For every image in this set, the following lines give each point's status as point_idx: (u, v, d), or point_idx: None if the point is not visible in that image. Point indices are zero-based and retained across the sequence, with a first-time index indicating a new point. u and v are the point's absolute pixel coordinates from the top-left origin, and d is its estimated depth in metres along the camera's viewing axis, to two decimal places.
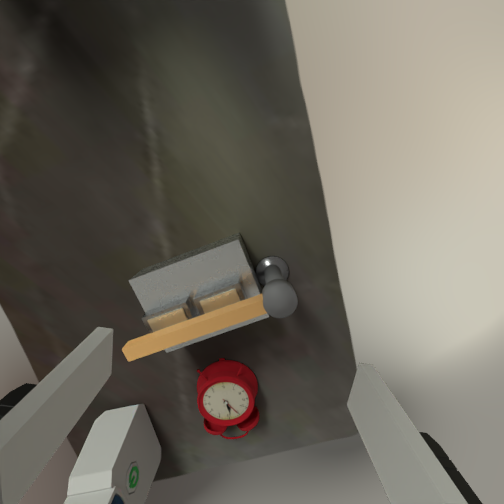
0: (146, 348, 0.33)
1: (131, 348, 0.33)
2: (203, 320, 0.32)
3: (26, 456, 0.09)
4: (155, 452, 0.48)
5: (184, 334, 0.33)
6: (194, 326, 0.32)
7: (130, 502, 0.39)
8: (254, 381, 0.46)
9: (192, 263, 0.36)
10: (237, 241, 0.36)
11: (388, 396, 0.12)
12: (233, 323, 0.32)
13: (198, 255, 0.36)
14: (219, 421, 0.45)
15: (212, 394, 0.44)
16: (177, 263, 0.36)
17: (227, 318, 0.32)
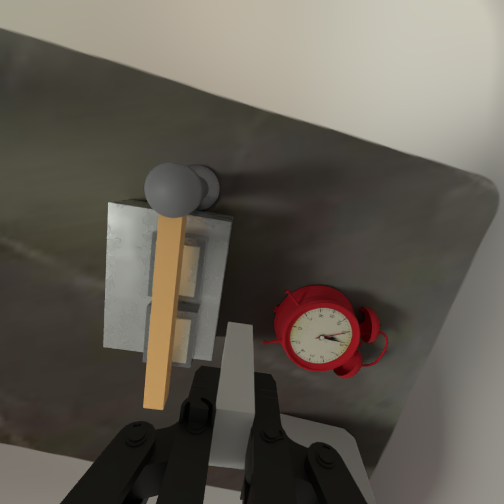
0: (156, 382, 0.25)
1: (147, 397, 0.25)
2: (152, 301, 0.23)
3: None
4: (339, 438, 0.38)
5: (158, 333, 0.23)
6: (154, 316, 0.23)
7: None
8: (324, 290, 0.33)
9: (114, 271, 0.28)
10: (110, 204, 0.26)
11: (247, 346, 0.14)
12: (174, 268, 0.22)
13: (108, 259, 0.28)
14: (342, 358, 0.33)
15: (302, 345, 0.32)
16: (107, 287, 0.28)
17: (163, 272, 0.22)
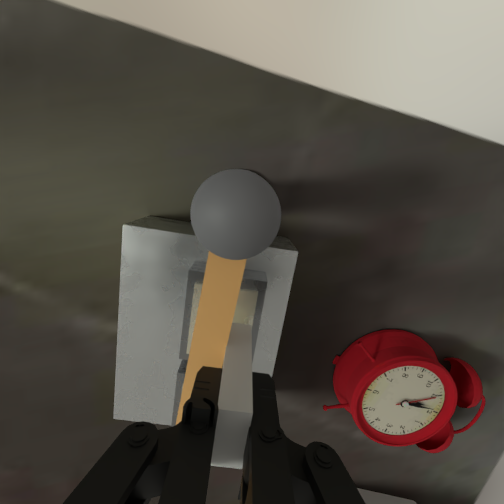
0: None
1: None
2: (184, 382, 0.15)
3: None
4: None
5: None
6: None
7: None
8: (403, 337, 0.25)
9: (130, 319, 0.20)
10: (126, 227, 0.18)
11: (245, 346, 0.14)
12: (225, 336, 0.14)
13: (121, 303, 0.20)
14: (430, 428, 0.25)
15: (377, 413, 0.24)
16: (119, 340, 0.20)
17: (206, 340, 0.14)
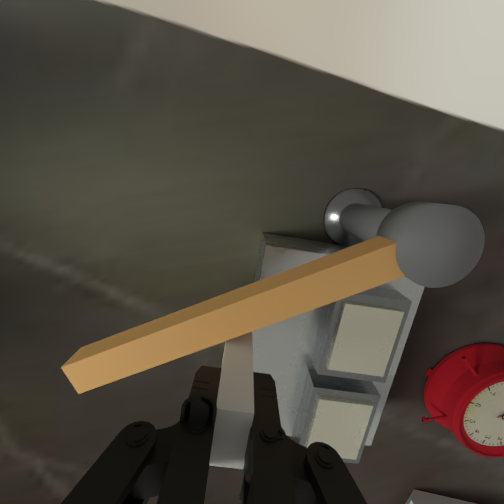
0: (119, 364, 0.14)
1: (82, 364, 0.14)
2: (249, 296, 0.14)
3: None
4: None
5: (203, 329, 0.14)
6: (228, 311, 0.14)
7: None
8: (499, 351, 0.26)
9: (261, 334, 0.21)
10: (268, 248, 0.19)
11: (246, 346, 0.14)
12: (320, 303, 0.14)
13: None
14: None
15: (476, 425, 0.25)
16: None
17: (307, 291, 0.13)
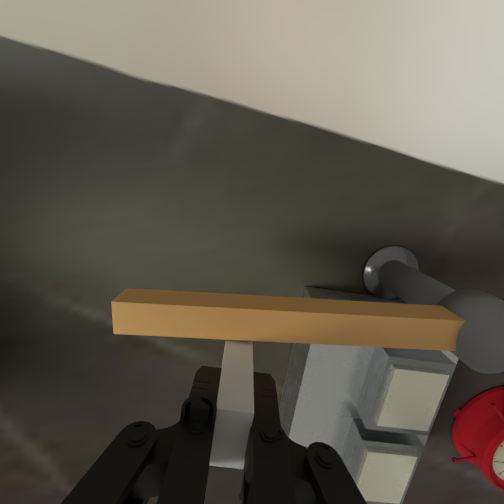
0: (169, 322, 0.14)
1: (134, 307, 0.14)
2: (322, 312, 0.14)
3: None
4: None
5: (266, 324, 0.14)
6: (298, 317, 0.14)
7: None
8: None
9: (310, 389, 0.22)
10: None
11: (246, 346, 0.14)
12: (378, 344, 0.14)
13: (304, 376, 0.22)
14: None
15: None
16: (297, 407, 0.23)
17: (373, 329, 0.14)
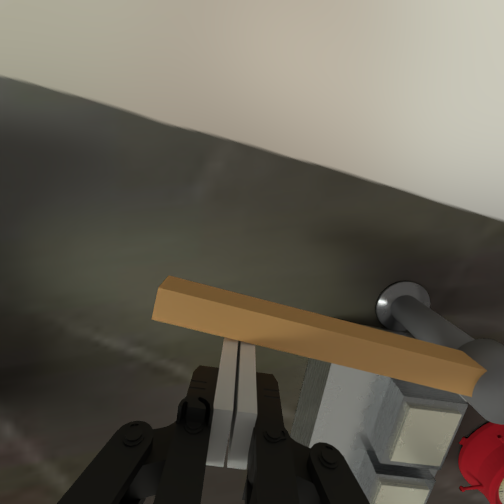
0: (210, 319, 0.14)
1: (179, 297, 0.14)
2: (358, 337, 0.14)
3: None
4: None
5: (304, 338, 0.14)
6: (335, 337, 0.14)
7: None
8: None
9: (325, 422, 0.23)
10: None
11: (249, 346, 0.14)
12: (403, 377, 0.15)
13: (320, 410, 0.23)
14: None
15: None
16: (313, 439, 0.23)
17: (402, 362, 0.15)
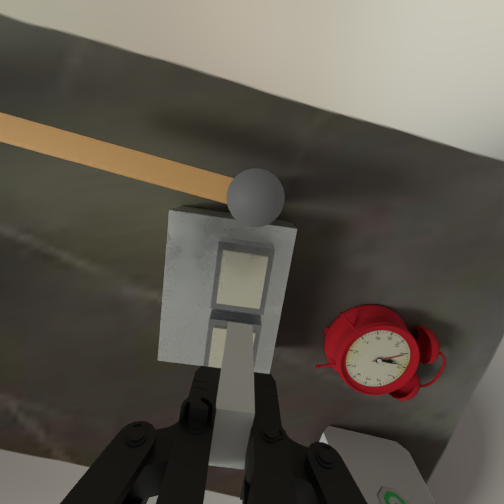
0: (2, 129, 0.18)
1: None
2: (125, 148, 0.18)
3: None
4: (394, 452, 0.36)
5: (80, 147, 0.18)
6: (104, 146, 0.18)
7: None
8: (377, 310, 0.32)
9: (172, 281, 0.27)
10: (171, 212, 0.25)
11: (247, 346, 0.14)
12: (167, 184, 0.19)
13: (166, 269, 0.26)
14: (400, 380, 0.32)
15: (358, 369, 0.31)
16: (164, 298, 0.27)
17: (163, 170, 0.18)
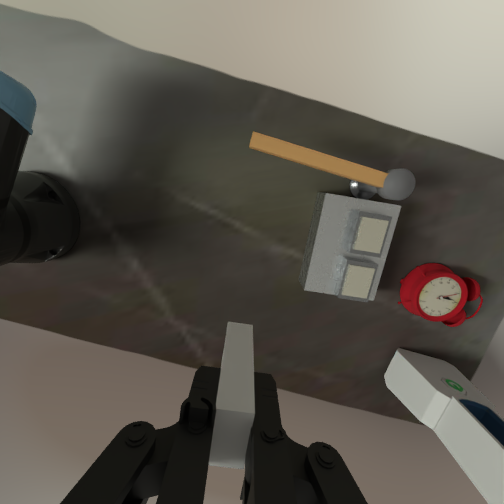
0: (273, 146, 0.34)
1: (261, 136, 0.34)
2: (333, 156, 0.35)
3: None
4: (445, 365, 0.53)
5: (311, 156, 0.34)
6: (324, 156, 0.34)
7: (473, 398, 0.44)
8: (438, 266, 0.49)
9: (321, 237, 0.43)
10: (327, 194, 0.41)
11: (247, 346, 0.14)
12: (353, 176, 0.35)
13: (318, 230, 0.43)
14: (453, 312, 0.48)
15: (426, 303, 0.48)
16: (314, 248, 0.44)
17: (352, 168, 0.35)
